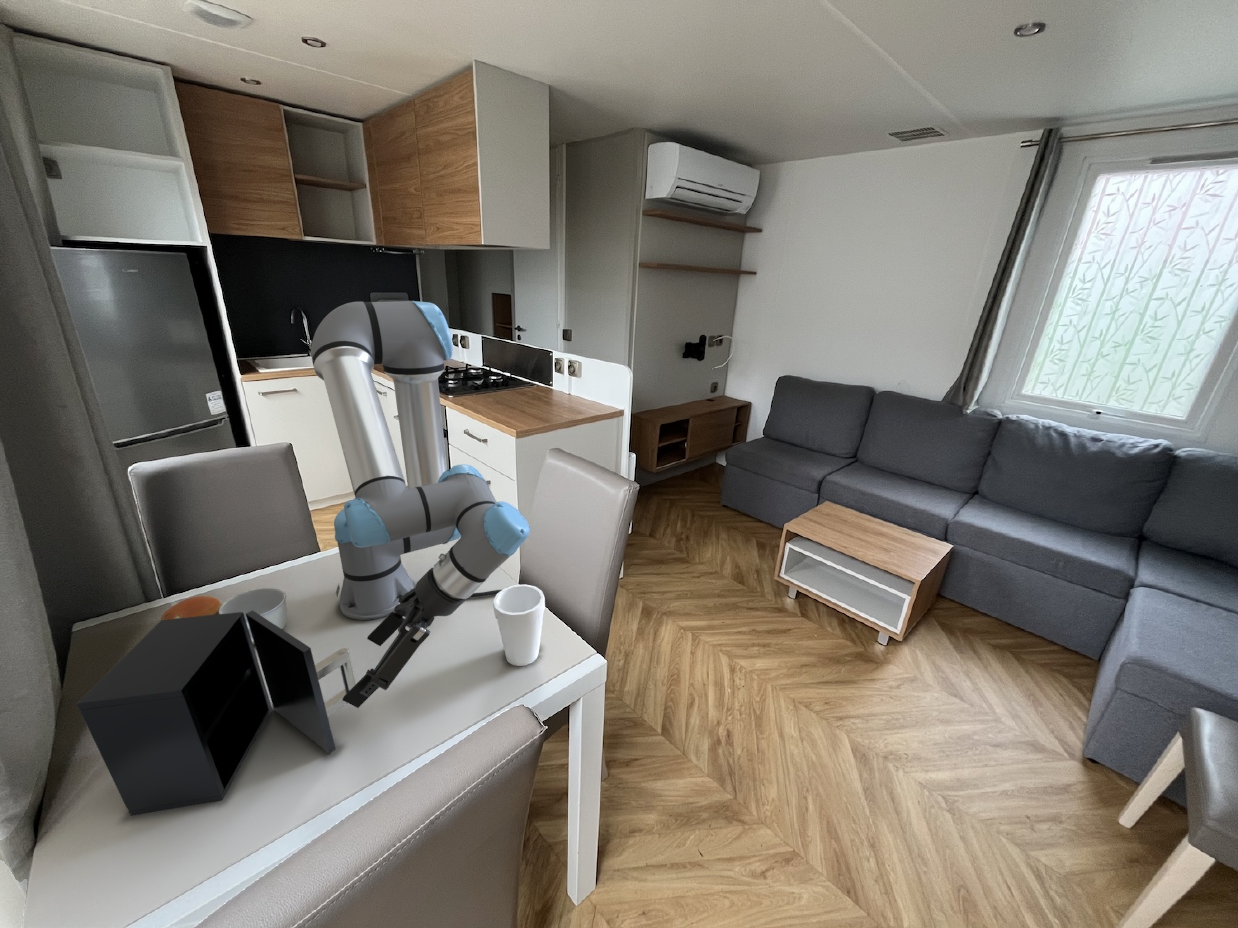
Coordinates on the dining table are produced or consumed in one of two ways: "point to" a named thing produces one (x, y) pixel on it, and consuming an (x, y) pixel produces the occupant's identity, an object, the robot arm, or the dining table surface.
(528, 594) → the foam cup
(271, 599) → the teacup
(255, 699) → the fridge
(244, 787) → the dining table surface
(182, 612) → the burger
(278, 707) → the fridge door
